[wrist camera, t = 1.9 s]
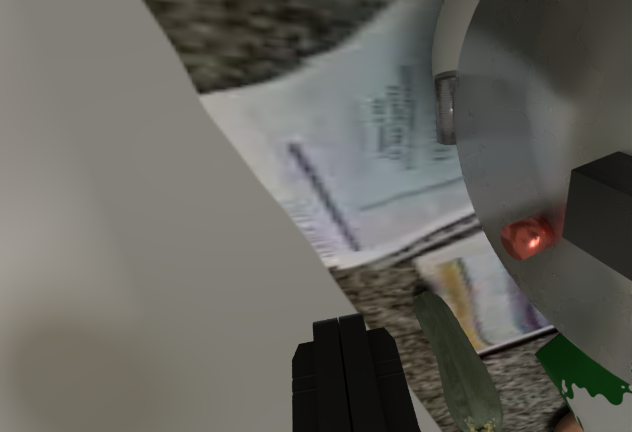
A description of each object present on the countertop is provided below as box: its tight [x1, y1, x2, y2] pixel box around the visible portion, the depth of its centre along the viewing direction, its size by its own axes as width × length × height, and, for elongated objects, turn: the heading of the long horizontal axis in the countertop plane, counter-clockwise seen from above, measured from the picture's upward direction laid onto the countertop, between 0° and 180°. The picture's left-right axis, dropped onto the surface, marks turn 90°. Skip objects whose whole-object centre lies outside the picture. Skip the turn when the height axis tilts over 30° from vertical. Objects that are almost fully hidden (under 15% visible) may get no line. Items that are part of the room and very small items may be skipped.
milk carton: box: [535, 333, 632, 432], centre depth 44 cm, size 9×9×20 cm
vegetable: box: [414, 291, 503, 432], centre depth 37 cm, size 4×4×20 cm
